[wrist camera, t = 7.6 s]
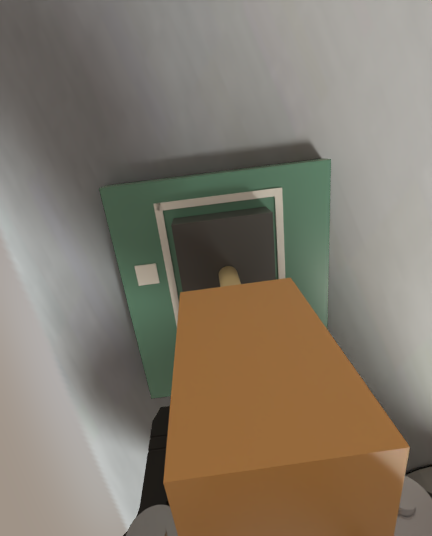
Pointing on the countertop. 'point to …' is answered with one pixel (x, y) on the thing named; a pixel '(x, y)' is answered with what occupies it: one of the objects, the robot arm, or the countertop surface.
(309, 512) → the block
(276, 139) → the countertop surface
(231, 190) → the header board
